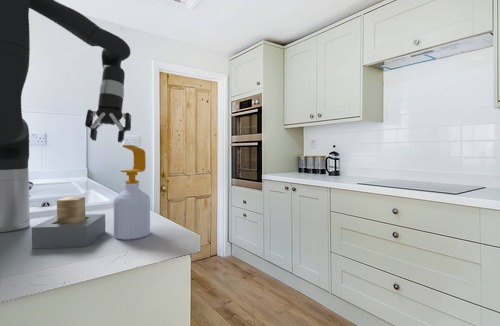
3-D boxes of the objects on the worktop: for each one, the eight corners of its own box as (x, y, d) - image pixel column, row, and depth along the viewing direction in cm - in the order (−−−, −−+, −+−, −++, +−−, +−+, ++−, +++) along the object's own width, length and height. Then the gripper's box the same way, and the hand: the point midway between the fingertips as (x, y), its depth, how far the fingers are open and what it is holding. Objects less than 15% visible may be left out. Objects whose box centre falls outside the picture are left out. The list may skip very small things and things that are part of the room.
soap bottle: (106, 237, 74) (105, 144, 72) (133, 228, 82) (132, 145, 81) (131, 242, 70) (130, 145, 69) (157, 232, 78) (156, 145, 77)
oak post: (57, 238, 69) (56, 200, 69) (66, 232, 74) (66, 197, 73) (77, 237, 70) (76, 200, 69) (85, 232, 74) (85, 196, 74)
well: (32, 248, 65) (31, 227, 65) (59, 232, 77) (58, 214, 76) (87, 246, 67) (87, 226, 66) (105, 231, 79) (105, 214, 78)
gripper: (85, 90, 93) (79, 137, 92) (129, 94, 95) (124, 140, 93) (94, 97, 101) (89, 141, 99) (135, 101, 102) (131, 144, 101)
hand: (106, 141), depth 96 cm, fingers open, 8 cm apart
